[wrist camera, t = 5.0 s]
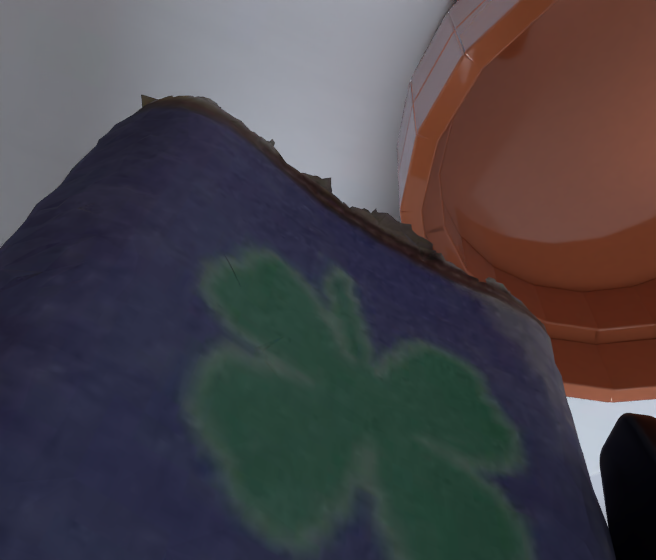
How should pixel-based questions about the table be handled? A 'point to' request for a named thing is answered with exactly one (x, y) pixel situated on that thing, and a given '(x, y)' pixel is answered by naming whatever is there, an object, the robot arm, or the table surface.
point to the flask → (266, 372)
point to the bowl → (546, 173)
